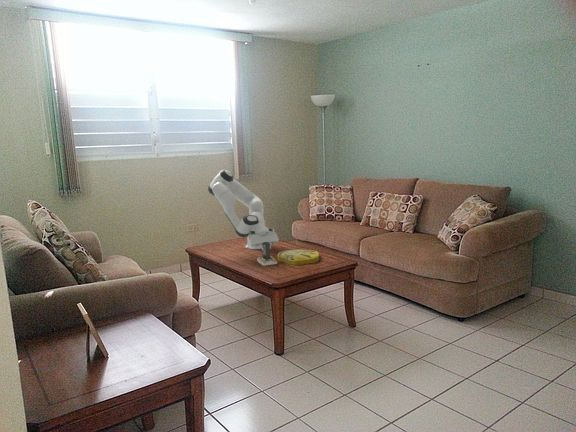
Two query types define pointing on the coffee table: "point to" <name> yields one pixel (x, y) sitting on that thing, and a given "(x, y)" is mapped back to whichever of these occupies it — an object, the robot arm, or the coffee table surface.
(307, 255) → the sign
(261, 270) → the coffee table surface
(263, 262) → the display stand
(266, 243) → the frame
